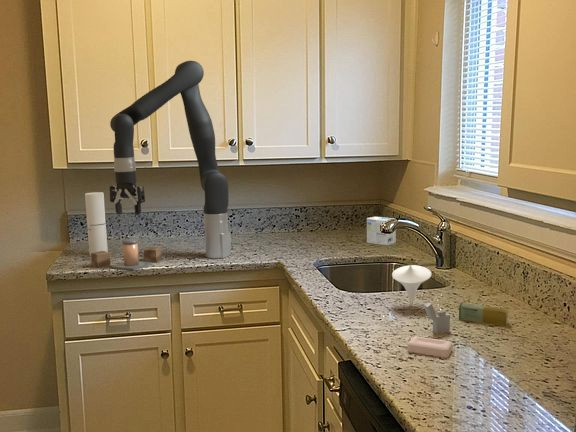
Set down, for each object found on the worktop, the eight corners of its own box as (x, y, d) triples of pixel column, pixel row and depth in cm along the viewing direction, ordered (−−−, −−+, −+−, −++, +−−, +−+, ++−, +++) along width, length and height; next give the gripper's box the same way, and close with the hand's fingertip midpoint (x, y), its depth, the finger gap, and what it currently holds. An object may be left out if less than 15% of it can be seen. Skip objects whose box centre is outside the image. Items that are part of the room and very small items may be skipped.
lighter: (445, 329, 151) (445, 298, 150) (450, 331, 149) (450, 300, 148) (422, 334, 148) (423, 302, 147) (427, 336, 146) (427, 304, 145)
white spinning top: (426, 313, 163) (426, 270, 161) (387, 308, 168) (387, 266, 166) (434, 302, 172) (435, 261, 171) (397, 298, 177) (398, 258, 175)
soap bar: (413, 345, 142) (413, 335, 142) (452, 350, 138) (452, 340, 138) (406, 353, 137) (406, 342, 137) (447, 359, 133) (447, 348, 133)
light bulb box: (396, 243, 254) (396, 218, 253) (387, 246, 250) (387, 220, 248) (375, 240, 262) (375, 215, 260) (366, 242, 257) (366, 217, 255)
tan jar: (142, 263, 225) (140, 239, 224) (132, 266, 220) (131, 242, 219) (130, 262, 228) (128, 238, 226) (120, 265, 223) (119, 241, 221)
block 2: (161, 259, 234) (161, 247, 233) (156, 262, 229) (155, 250, 228) (149, 259, 235) (148, 247, 234) (144, 262, 230) (143, 249, 229)
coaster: (151, 264, 226) (151, 262, 226) (133, 270, 217) (133, 268, 217) (130, 262, 231) (129, 260, 231) (112, 268, 222) (111, 266, 222)
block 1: (110, 265, 226) (109, 252, 226) (98, 268, 223) (97, 254, 222) (104, 263, 230) (103, 250, 229) (91, 266, 227) (90, 252, 226)
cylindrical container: (102, 256, 242) (97, 194, 238) (86, 255, 244) (81, 194, 240) (111, 252, 249) (106, 192, 245) (95, 252, 250) (90, 192, 246)
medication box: (458, 320, 158) (458, 305, 157) (460, 316, 160) (460, 302, 160) (506, 326, 152) (506, 311, 152) (508, 323, 155) (508, 308, 154)
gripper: (147, 169, 219) (150, 213, 221) (116, 168, 225) (120, 211, 227) (134, 171, 212) (137, 216, 215) (102, 170, 218) (106, 215, 221)
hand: (128, 214), depth 221 cm, fingers open, 8 cm apart
